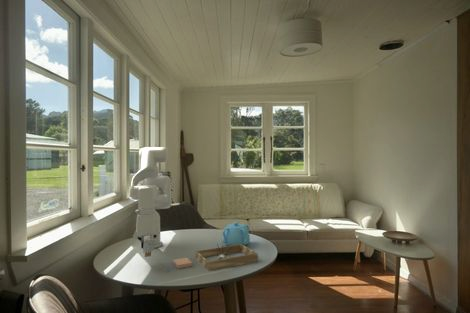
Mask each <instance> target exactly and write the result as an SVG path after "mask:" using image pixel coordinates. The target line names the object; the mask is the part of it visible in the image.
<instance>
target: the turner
mask: <svg viewBox="0 0 470 313" xmlns="http://www.w3.org/2000/svg"><path fill="white" fill-rule="evenodd" d="M154 244H155V238H153V239H146V240H144V245H143V248H142V253H144V258H147V257H151V256H152V252H154V251H155V248H154Z"/></svg>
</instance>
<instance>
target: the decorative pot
mask: <svg viewBox="0 0 470 313" xmlns="http://www.w3.org/2000/svg"><path fill="white" fill-rule="evenodd" d="M249 231H250V226H249V225H247V224H241V223H239V222H238V221H234V222H233V223H231V224H230V223H229V224H226V227H224V228H223V230H222V240H221V241H222V242H221V243H223V244H225V245H226V246H231V245H237V244H242V245H244V246H245V245H246V246H247V245H249V243H250V240H251V235H250V233H249Z"/></svg>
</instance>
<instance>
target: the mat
mask: <svg viewBox="0 0 470 313" xmlns="http://www.w3.org/2000/svg"><path fill="white" fill-rule="evenodd" d="M188 259H189V260H190V261H191V262H192V266H189V267H184V268H178V269H177V267H176V266H175V265H174V264H173V261H169V262H163V263H160V266H162V268H163V269H164V271H165V272H166V273H167V272H173V271H179V270H184V269H189V268H195V267H199V266H200V264H199V263H197V262H196V261H195V259H194V258H192V257H191V258H188Z"/></svg>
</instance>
